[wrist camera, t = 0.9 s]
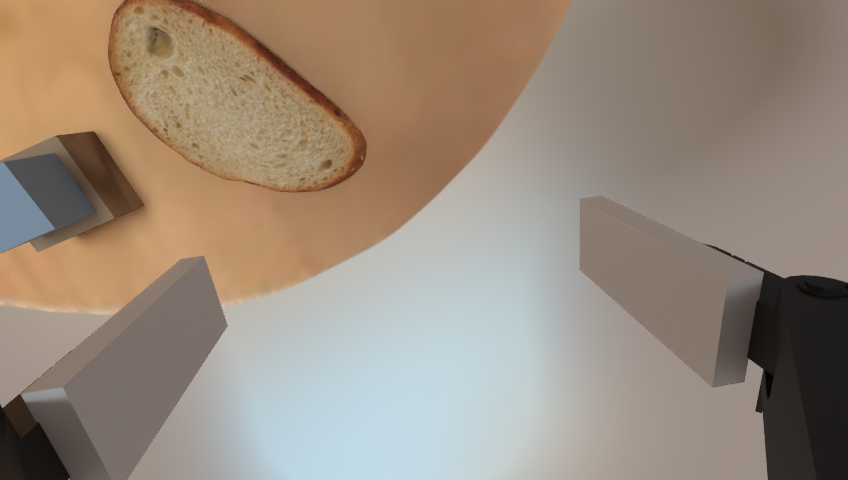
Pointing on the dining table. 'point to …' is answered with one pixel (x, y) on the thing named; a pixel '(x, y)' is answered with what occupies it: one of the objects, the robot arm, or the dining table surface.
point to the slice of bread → (228, 99)
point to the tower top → (37, 199)
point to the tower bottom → (86, 182)
